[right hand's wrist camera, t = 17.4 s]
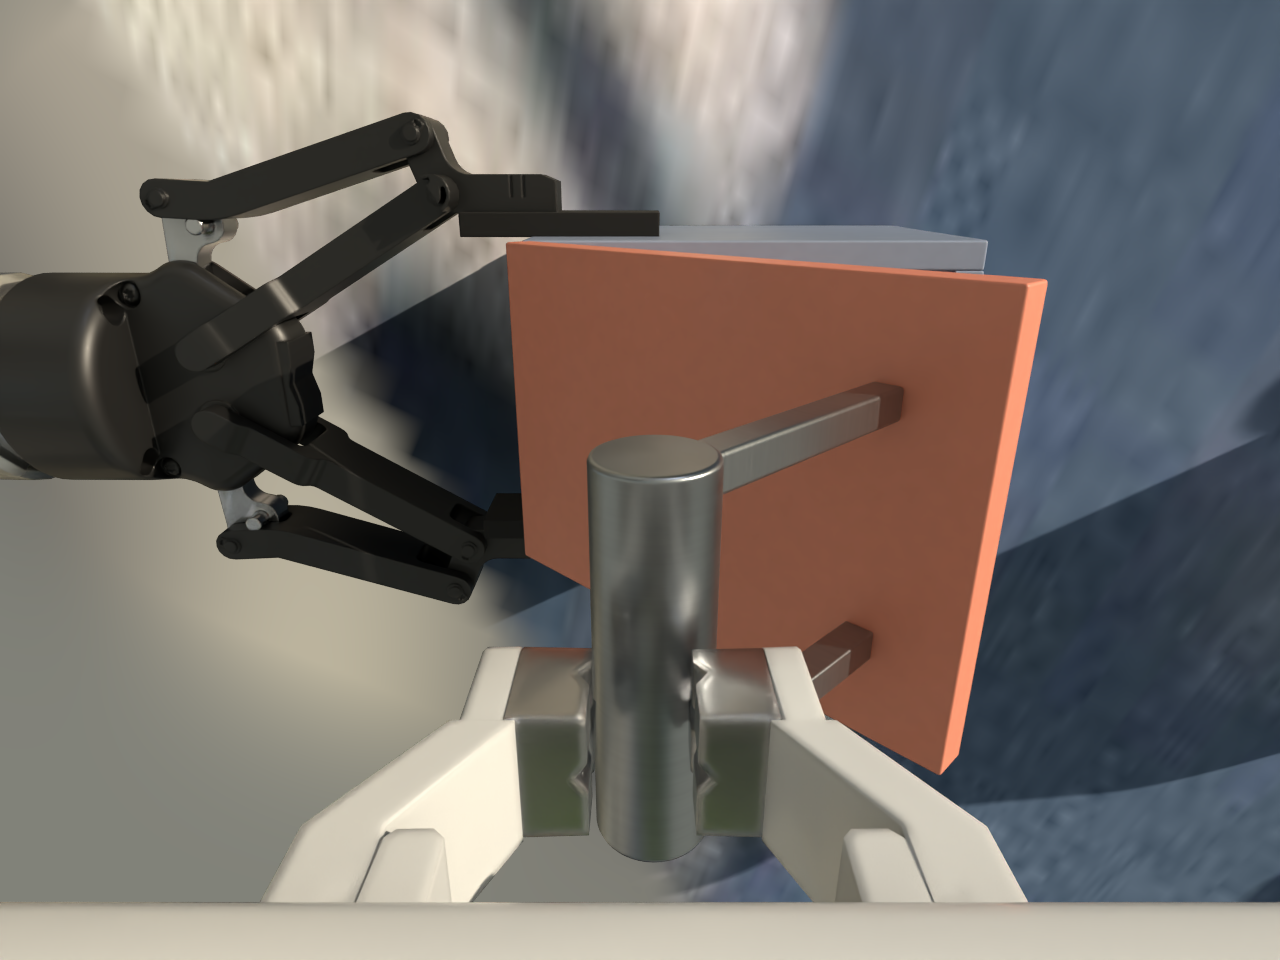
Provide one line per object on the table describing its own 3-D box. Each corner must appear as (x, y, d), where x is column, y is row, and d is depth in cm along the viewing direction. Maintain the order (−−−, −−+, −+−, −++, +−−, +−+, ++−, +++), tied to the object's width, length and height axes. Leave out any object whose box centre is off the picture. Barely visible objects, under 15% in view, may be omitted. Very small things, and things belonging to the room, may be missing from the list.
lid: (1049, 278, 13) (751, 346, 7) (959, 755, 17) (715, 1035, 11) (530, 240, 23) (236, 257, 17) (546, 546, 26) (307, 640, 21)
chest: (894, 225, 31) (989, 239, 23) (867, 456, 35) (941, 546, 26) (556, 225, 32) (520, 239, 23) (565, 455, 35) (537, 544, 26)
